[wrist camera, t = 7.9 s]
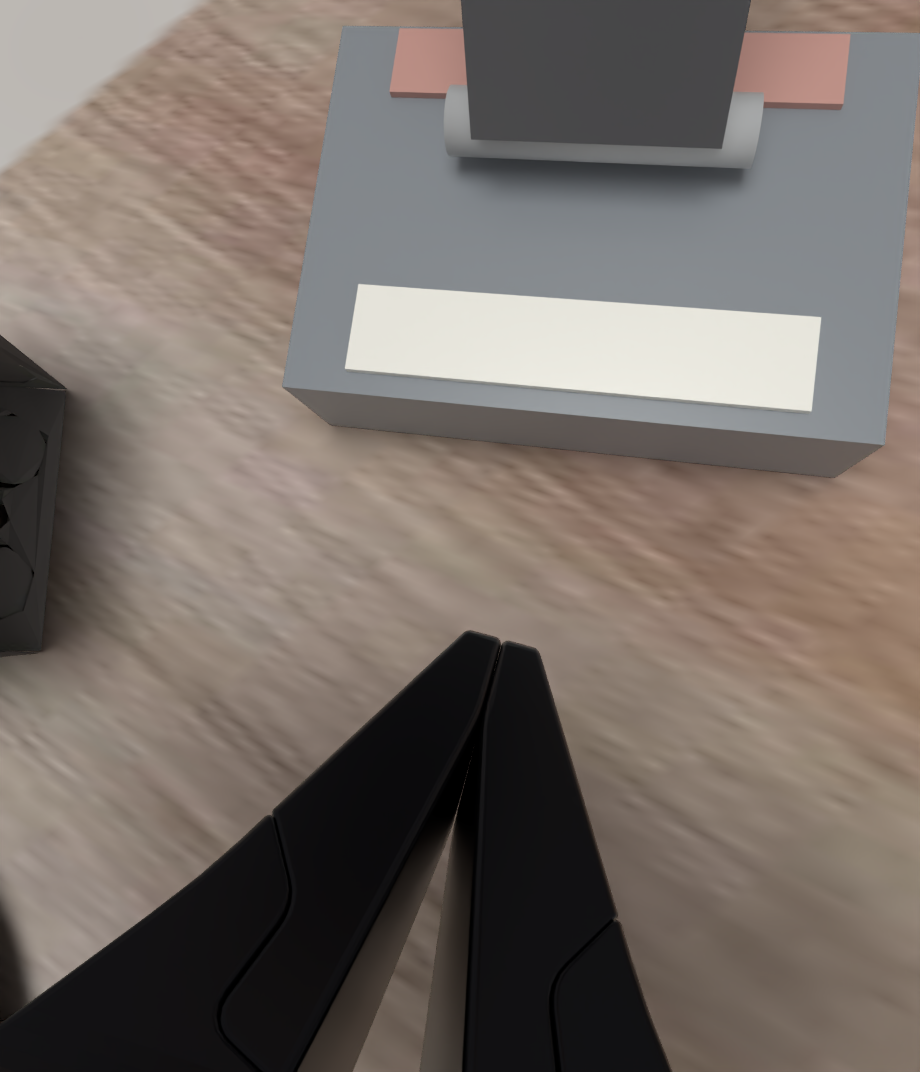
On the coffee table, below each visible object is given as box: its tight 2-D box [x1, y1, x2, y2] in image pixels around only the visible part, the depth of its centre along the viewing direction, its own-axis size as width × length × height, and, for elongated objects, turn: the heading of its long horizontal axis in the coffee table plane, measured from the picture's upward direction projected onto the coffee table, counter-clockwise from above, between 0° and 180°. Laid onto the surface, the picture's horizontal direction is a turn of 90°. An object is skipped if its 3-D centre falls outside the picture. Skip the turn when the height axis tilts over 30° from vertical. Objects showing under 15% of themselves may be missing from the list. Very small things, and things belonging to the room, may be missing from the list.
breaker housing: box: [282, 26, 920, 478], centre depth 20 cm, size 9×13×4 cm
